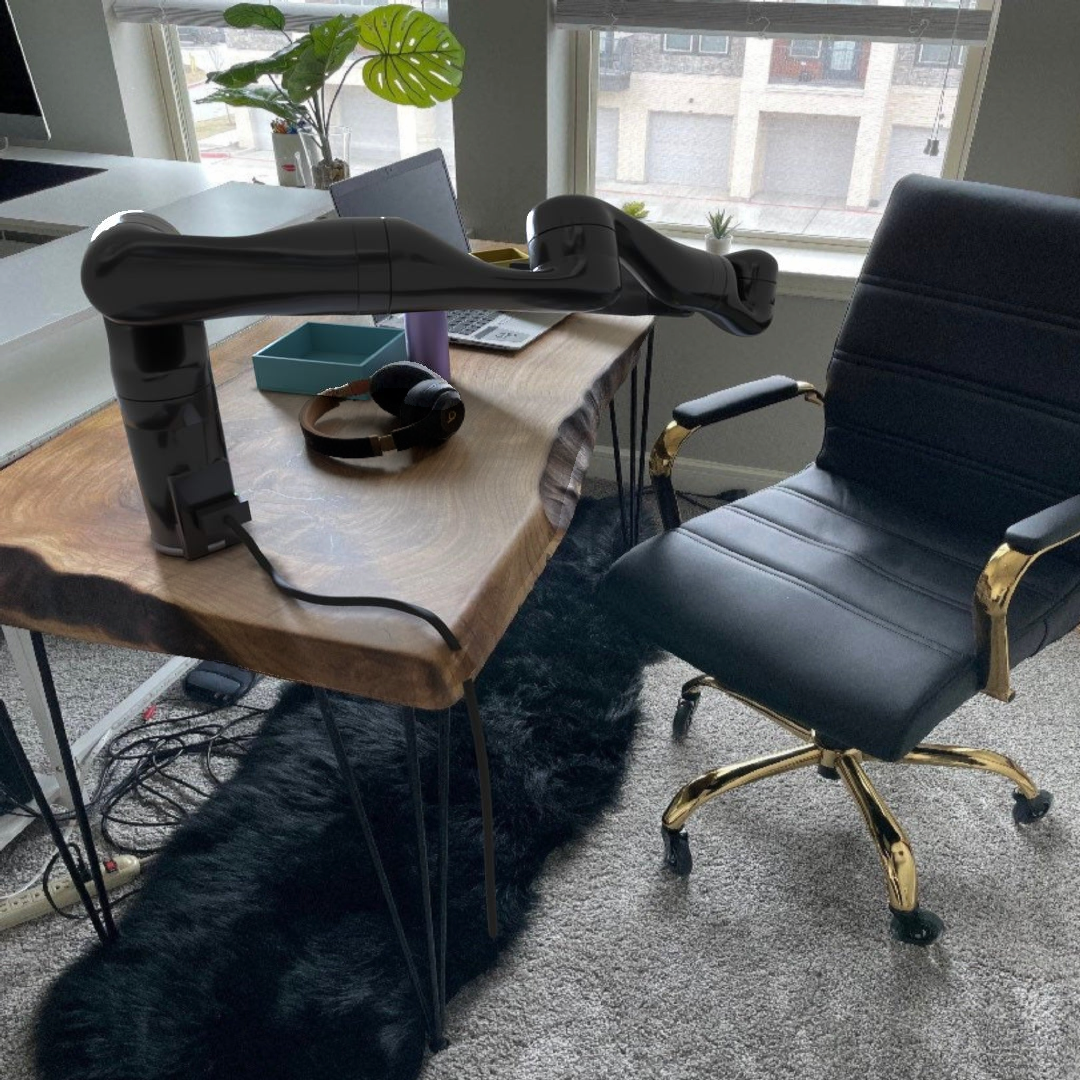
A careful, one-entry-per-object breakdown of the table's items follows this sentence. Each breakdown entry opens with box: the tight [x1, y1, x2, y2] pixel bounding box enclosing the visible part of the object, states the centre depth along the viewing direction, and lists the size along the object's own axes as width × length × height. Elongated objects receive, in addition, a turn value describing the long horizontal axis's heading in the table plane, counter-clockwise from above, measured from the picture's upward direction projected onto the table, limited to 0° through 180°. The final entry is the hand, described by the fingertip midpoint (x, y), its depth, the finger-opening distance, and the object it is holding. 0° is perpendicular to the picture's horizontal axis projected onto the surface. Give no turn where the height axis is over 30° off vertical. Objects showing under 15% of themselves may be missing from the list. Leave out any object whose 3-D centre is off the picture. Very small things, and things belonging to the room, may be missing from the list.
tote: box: [251, 320, 408, 401], centre depth 146 cm, size 17×16×5 cm
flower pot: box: [468, 246, 530, 268], centre depth 172 cm, size 9×9×9 cm
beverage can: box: [403, 311, 452, 384], centre depth 140 cm, size 6×6×15 cm
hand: (500, 278), depth 133 cm, fingers open, 8 cm apart
